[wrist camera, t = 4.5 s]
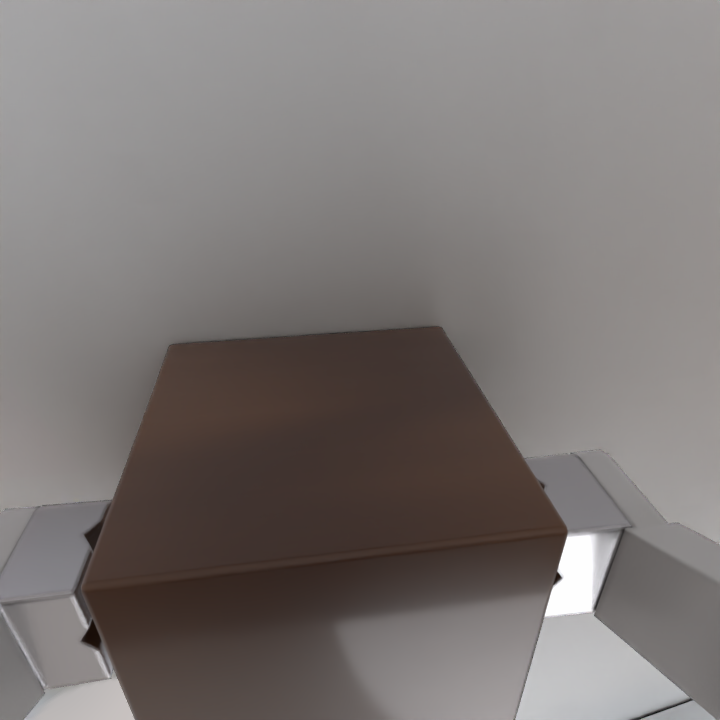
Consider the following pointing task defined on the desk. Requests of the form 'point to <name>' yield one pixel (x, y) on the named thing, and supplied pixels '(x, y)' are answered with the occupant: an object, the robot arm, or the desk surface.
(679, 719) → the mounting plate
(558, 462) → the robot arm
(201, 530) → the block
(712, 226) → the desk surface
